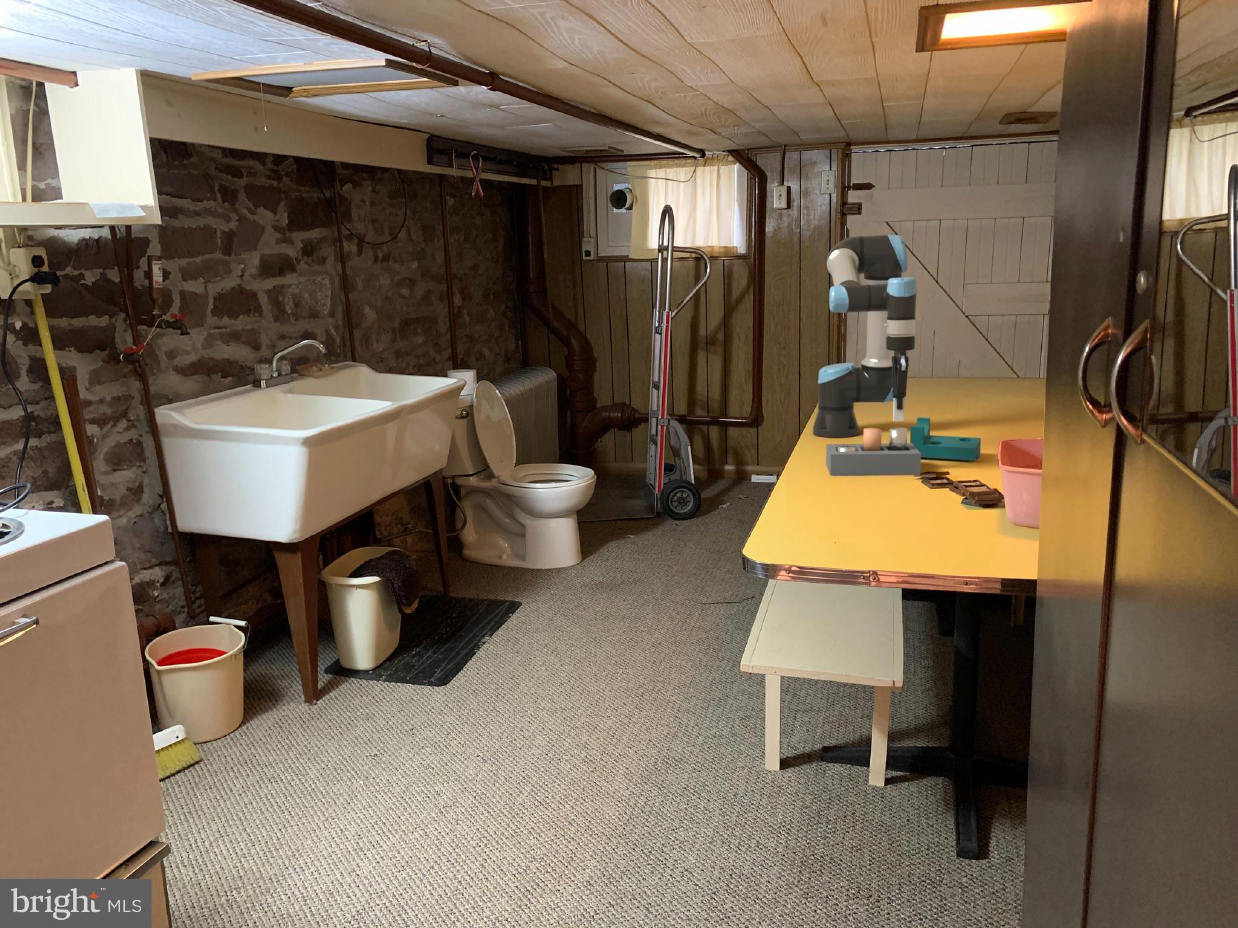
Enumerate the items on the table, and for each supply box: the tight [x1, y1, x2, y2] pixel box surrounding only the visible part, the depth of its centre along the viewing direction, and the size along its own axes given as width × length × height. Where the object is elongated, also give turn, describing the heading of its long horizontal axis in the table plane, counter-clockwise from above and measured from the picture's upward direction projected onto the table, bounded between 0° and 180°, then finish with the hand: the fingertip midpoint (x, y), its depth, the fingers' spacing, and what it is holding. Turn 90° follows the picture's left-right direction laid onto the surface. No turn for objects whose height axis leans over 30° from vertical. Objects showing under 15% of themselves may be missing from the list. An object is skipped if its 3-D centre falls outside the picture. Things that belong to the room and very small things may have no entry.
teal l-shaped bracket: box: [909, 416, 982, 461], centre depth 275 cm, size 18×11×10 cm, turn 62°
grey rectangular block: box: [825, 442, 922, 477], centre depth 265 cm, size 14×24×6 cm, turn 83°
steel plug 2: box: [888, 426, 908, 451], centre depth 263 cm, size 5×5×6 cm
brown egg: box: [862, 427, 882, 451], centre depth 264 cm, size 5×5×6 cm
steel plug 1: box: [838, 445, 855, 451], centre depth 266 cm, size 5×5×6 cm
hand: (898, 420), depth 261 cm, fingers closed
